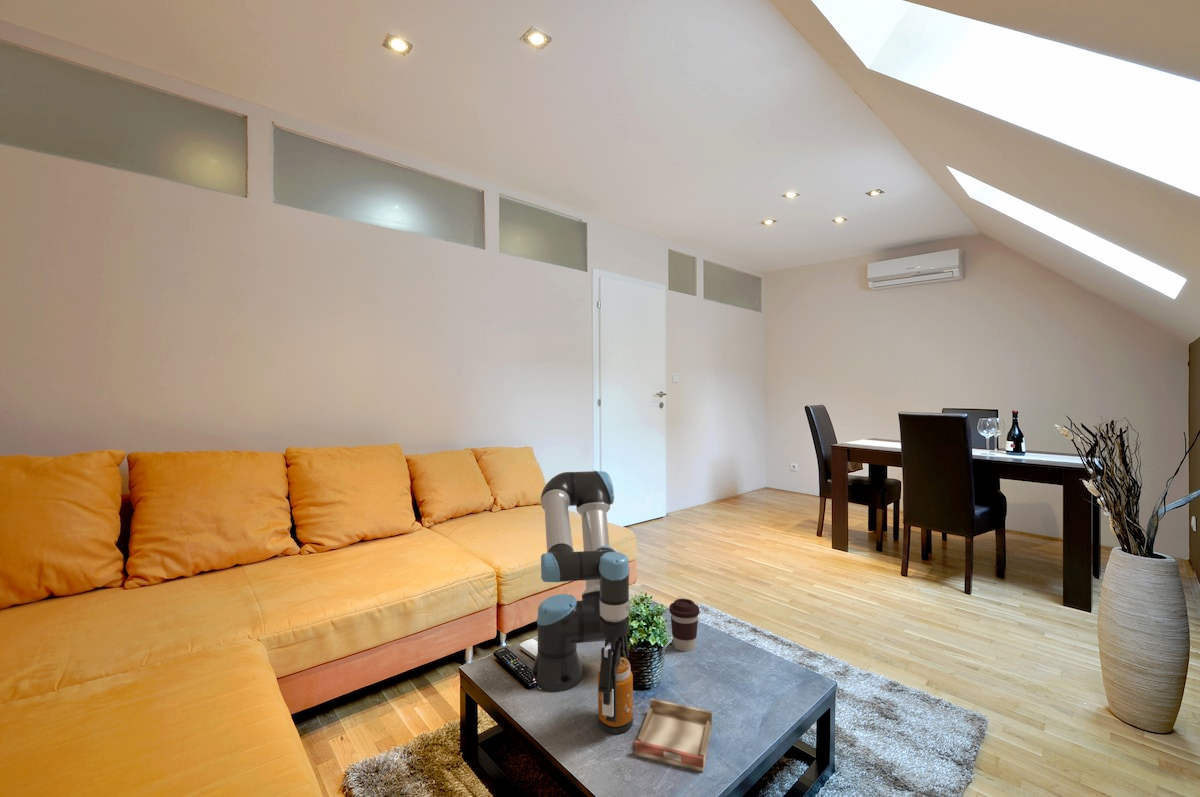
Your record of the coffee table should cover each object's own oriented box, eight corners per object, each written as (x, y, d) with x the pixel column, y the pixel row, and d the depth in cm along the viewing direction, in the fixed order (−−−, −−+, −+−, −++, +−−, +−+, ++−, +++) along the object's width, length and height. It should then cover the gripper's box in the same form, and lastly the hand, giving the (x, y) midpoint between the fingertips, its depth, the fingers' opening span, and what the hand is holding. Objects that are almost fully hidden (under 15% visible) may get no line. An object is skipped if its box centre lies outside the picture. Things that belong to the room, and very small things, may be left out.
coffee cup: (701, 642, 165) (701, 598, 165) (696, 657, 156) (696, 611, 155) (673, 637, 168) (672, 594, 168) (666, 651, 159) (666, 606, 159)
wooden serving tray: (634, 755, 113) (634, 739, 113) (650, 713, 129) (650, 698, 129) (703, 773, 108) (703, 756, 108) (712, 726, 123) (711, 711, 123)
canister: (635, 714, 128) (635, 639, 128) (628, 744, 117) (628, 662, 117) (602, 709, 130) (602, 636, 130) (592, 738, 119) (592, 658, 119)
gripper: (614, 639, 111) (615, 734, 112) (640, 599, 133) (640, 679, 133) (584, 634, 114) (584, 727, 114) (614, 595, 135) (614, 674, 136)
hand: (614, 701), depth 124 cm, fingers closed on canister, 10 cm apart
